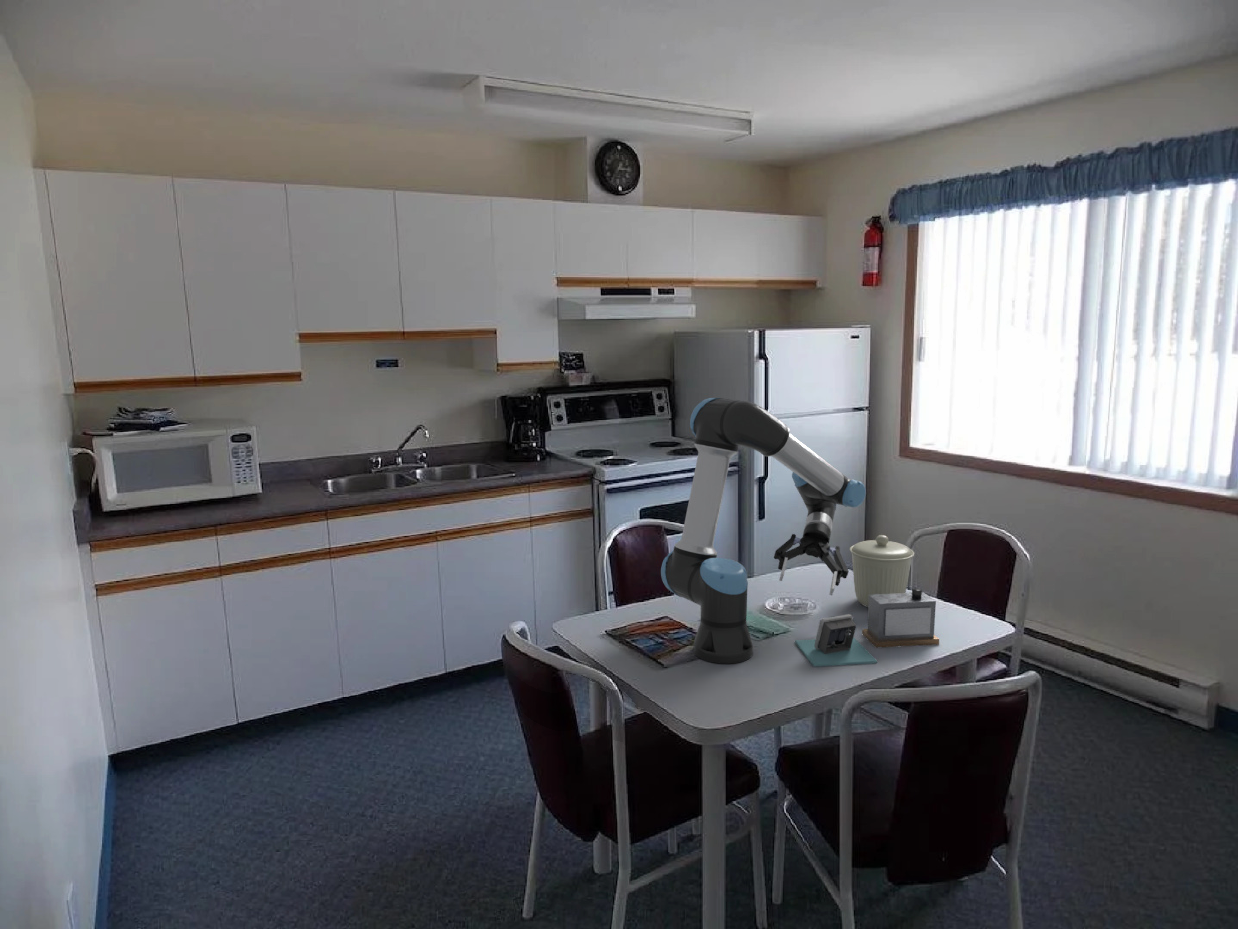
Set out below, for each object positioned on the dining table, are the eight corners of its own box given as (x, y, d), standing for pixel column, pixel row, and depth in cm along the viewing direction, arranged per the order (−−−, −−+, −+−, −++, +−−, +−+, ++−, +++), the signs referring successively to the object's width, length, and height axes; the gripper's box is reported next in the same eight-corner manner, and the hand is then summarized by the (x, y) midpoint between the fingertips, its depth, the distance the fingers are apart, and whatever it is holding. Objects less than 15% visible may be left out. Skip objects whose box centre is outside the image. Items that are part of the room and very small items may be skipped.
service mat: (813, 666, 196) (814, 664, 196) (794, 642, 210) (794, 640, 210) (877, 663, 197) (877, 660, 197) (853, 639, 212) (853, 637, 212)
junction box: (875, 647, 206) (878, 597, 204) (862, 634, 215) (864, 586, 213) (938, 644, 208) (941, 594, 205) (922, 631, 217) (925, 583, 214)
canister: (874, 618, 226) (877, 546, 223) (835, 598, 243) (837, 531, 239) (925, 609, 233) (929, 539, 229) (883, 590, 249) (886, 525, 246)
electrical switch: (844, 643, 208) (847, 611, 205) (856, 653, 203) (859, 619, 201) (813, 649, 205) (816, 616, 202) (824, 659, 200) (828, 625, 197)
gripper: (857, 552, 230) (849, 606, 214) (772, 529, 235) (758, 580, 220) (864, 534, 225) (856, 588, 210) (777, 510, 230) (763, 562, 215)
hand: (806, 584), depth 214 cm, fingers open, 13 cm apart
